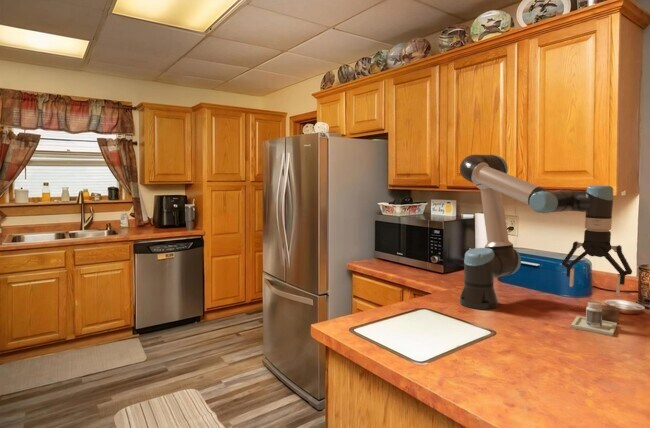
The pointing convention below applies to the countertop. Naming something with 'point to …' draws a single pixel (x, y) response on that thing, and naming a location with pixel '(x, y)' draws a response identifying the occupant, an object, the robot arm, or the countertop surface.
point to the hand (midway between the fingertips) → (593, 289)
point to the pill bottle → (594, 314)
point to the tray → (606, 328)
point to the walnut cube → (610, 313)
